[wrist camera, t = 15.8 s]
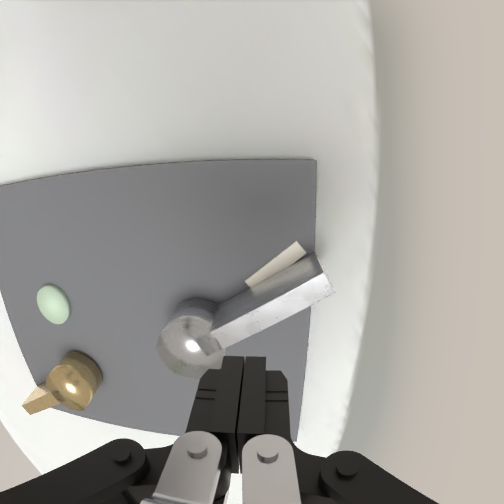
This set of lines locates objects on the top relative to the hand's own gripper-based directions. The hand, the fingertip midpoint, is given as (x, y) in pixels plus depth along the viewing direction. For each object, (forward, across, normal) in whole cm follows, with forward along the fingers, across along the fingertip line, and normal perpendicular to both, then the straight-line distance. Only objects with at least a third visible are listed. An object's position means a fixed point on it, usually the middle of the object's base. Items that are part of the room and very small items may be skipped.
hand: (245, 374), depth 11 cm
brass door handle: (+13, +22, +15) cm, 30 cm away
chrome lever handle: (+13, +1, +4) cm, 14 cm away
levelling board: (+15, +12, +8) cm, 21 cm away
